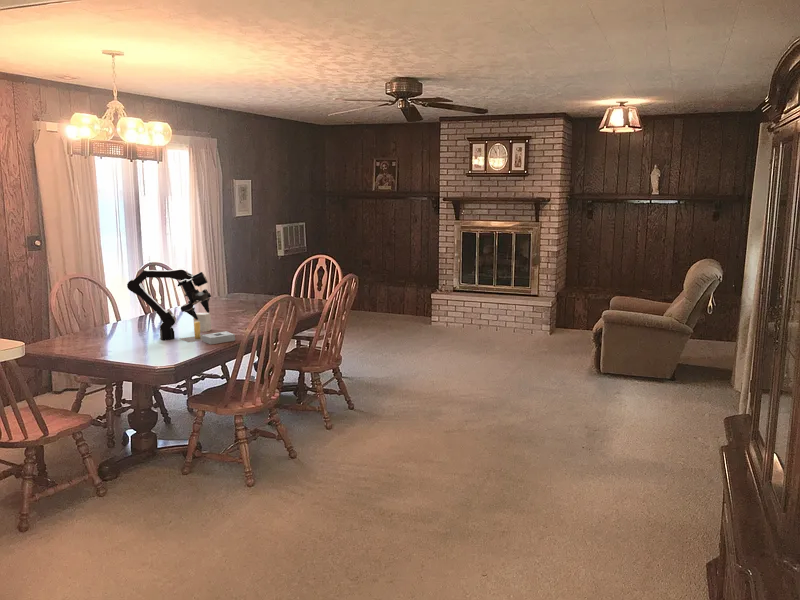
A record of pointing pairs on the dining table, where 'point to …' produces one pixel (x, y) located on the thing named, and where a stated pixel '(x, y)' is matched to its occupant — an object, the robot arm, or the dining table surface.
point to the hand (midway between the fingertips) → (203, 316)
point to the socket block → (218, 337)
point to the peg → (197, 330)
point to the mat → (191, 339)
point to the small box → (204, 321)
